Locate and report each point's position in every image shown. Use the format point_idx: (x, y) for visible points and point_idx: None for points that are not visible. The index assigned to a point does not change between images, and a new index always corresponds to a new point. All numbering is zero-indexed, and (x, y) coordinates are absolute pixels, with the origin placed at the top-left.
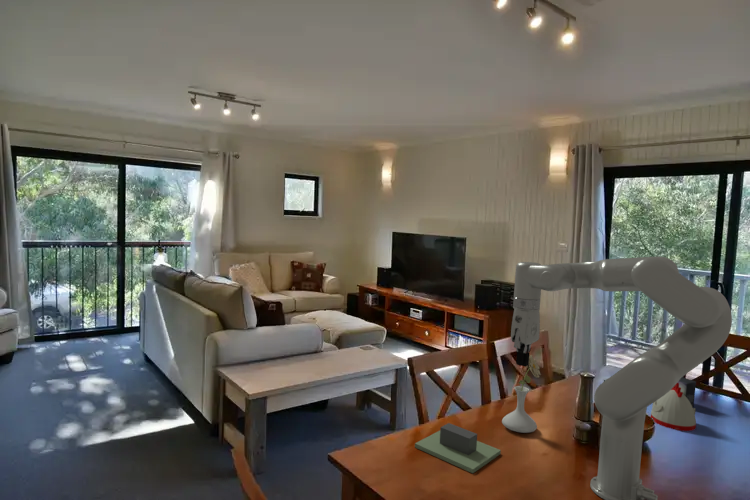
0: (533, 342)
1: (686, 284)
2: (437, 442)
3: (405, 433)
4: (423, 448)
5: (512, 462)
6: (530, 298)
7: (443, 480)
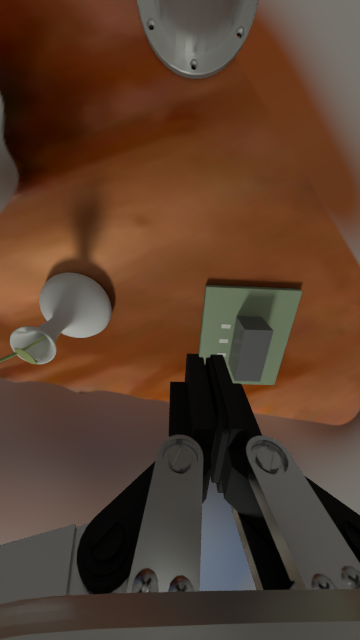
0: (208, 598)
1: None
2: None
3: None
4: (277, 370)
5: (220, 256)
6: None
7: (341, 310)
